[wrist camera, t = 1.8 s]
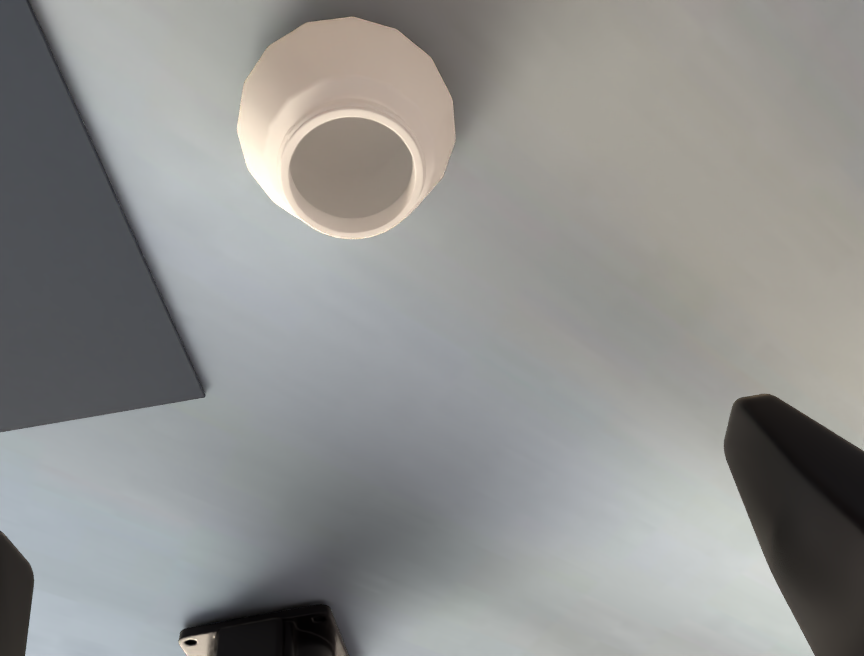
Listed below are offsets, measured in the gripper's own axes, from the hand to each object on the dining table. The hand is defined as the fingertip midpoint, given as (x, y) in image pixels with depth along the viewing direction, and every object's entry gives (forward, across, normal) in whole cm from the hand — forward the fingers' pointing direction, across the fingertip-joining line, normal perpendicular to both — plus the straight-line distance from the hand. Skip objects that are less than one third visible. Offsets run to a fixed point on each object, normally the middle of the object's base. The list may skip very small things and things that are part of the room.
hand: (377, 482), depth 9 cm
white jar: (+11, 0, 0) cm, 11 cm away
